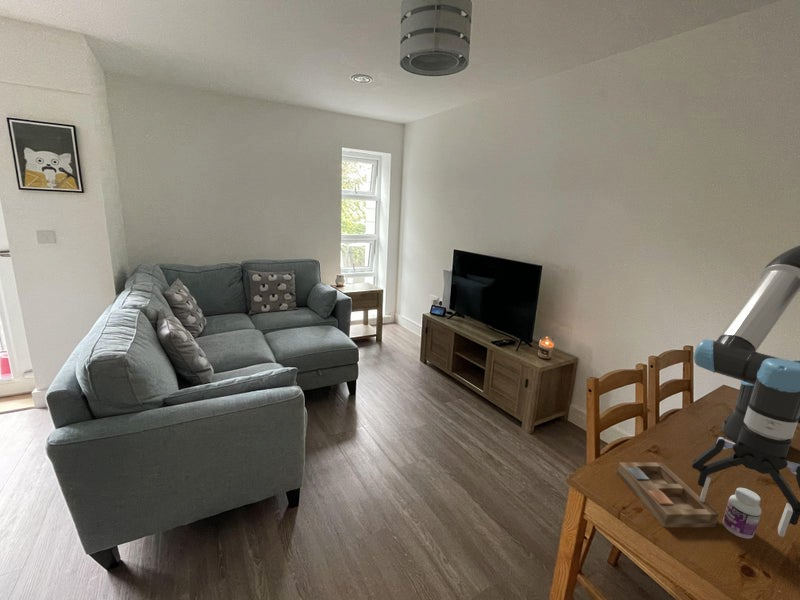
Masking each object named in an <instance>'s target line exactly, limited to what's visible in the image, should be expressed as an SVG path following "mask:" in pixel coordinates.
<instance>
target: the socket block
mask: <svg viewBox="0 0 800 600" xmlns="http://www.w3.org/2000/svg"><path fill="white" fill-rule="evenodd" d="M616 474H617V475H618V477H620V479H621V480H622V481H623V482H624V483H625V484H626V485H627V487H628V488H629V489H630V490H631V491H632V493H634V495H635V496H636V497H637V498H638V499H639V500H640V502H641V503H642V504H643V505H644V506H645V507H646V508H647V510H648V511H649V512H650V513H651V514H652V516H654V518H656V520H657V521H658V522H659V523H660V524H661V525H662V527H663V528H716V526H717V522H718V519H719V513H718V512H717V511H716V510H715V509H713V507H711V506H710V505H709V504H708V503H707V502H705V501H704V502H702V501H700V497H701V496H700V495H698V494H697V493H696V492H695V491H694V490H693V489H692V488H691V487H690V486H688V485H687V484H686V483H685V482H684V481H683V480H682V479H681V478H679V477H678V476H677V475H676V473H674V472H673V471H672V470H671V469H670V468H668V466H667V465H665V463H663V462H656V461H655V462H650V461H649V462H643V461H642V462H641V461H640V462H637V461H636V462H634V461H632V462H626V461H624V462H619V463H618V467H617V471H616Z"/></svg>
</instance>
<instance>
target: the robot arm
mask: <svg viewBox="0 0 800 600" xmlns="http://www.w3.org/2000/svg"><path fill="white" fill-rule="evenodd" d="M760 278H761V280H760V282H759V283H758V285H756V287H755V289H753V291H752V292H751V294H750V295H749V297H748V298H747V299H746V301H745V302H744V303H743V304H742V306H741V307H740V308H739V310H737V312H736V314H734V316H733V317H732V320H730V322H729V323H728V324H727V326H726V327H725V328H724V330H723V331H722V333H721V334H720V335H719V337H717V339H716V340H713V339H707V338H705V339H702V340H700V342H699V343H698V344H697V345H696V347H695V350H694V353H693V354H694V355H693V359H694V364H695V365H696V366H697V367H700V368H702V369H705V370H707V371H709V372H712V373H713V374H714V373H716V374H719V375H722V376H725V377H728V378H729V377H730V378H732V379H735V380H738V381H740V387H739V390H738V391H739V392H738V395H737V398H736V402H735V406H734V409H733V410H732V411H731V413H729V415H728V416H727V417H726V419H725V420H724V421H723V423H722V425H721V431H722V433H723V434H724V435H725V436H726V437H728V438H729V439H731V440H732V441H731V440H729V439H726V437H725V436H723V435H719V436H718V437H717V439H716V442H714V444H713V445H711V446H710V447H709V448H707V449H706V450H705V451H704V452H702V453H701V454H699V455H698V456H697V457H696V458H694V459H693V461H692V464H691V466H692V468H693V469H694V470H697V471H698V472H699V477H698V480H697V484H698V486H699V487H702V490H701V493H700V496H699V497H700V501H702V502H704V501H705V499H706V497H707V494H708V490H709V486H710V483H711V480H712V479H711V478H712V475H713V474H715V473H717V472H720V471H723V470H726V469H728V468H733V467H738V466H741V465H743V466H744V468H747V469H748V470H754V471H756V472H758V473H760V474H763V475H766V474H769V476H770V477H771V479H772V481H774V482H775V484H776V485H777V487H778V488H779V490H780V492H781V493H782V494H783V496H784V498H785V499H786V500H787V502H786V503H785V507H784V510H783V513H782V515H781V518H780V520H779V524H778V527H777V533H778V536H779V537H781V538H784V537H785V534H786V532H787V529H788V527H789V524H791V525H793V526H795V525H797V524H798V522H799V519H800V501H799V500H798V498H797V496H796V495H795V493H794V492H793V490H792V489H791V487H790V486H789V483H787V481H786V480H785V478H784V477H783V475H782V473H781V470H783V469H785V468H788V469H789V470H790V472H791V474H793V475H794V476H795V478H796V482H797V486H798V488H799V490H800V462H793V461H790V460H787V456H788V453H789V450H790V446H791V444H792V440H791V439H793V438H794V436H795V432H796V429H797V426H798V425H800V360H796V359H795V360H790V359H784V358H780V357H776V356H773V355H770V354H765V353H761V352H758V351H757V350H758V349H759V348H760V346H761V345H762V343H763V342H764V341H765V340H766V338H767V337H768V335H769V333H771V331H772V330H773V328H774V326H775V325H776V324H777V323H778V321H779V320H780V318H781V317H782V315H783V314H784V312H785V311H786V310H787V308H788V307H789V306H790V304H791V303H792V302H793V300H794V298H795V297H796V296H797V294H798V292H800V245H797V246H795V247H793V248H789V249H788V250H786V251H785V252H782V253H780V254H779V255H777V256H776V257H775V258H773V259H772V260H771V261H770V262H769V263H767V265H766V266H765V267H764V269H763V270H762V271H761V273H760ZM733 441H734V442H733ZM730 448H731V449H732V450H733V452H734V453H732V454H730V455H729V456H727V457H726V456H725V457H723V458H721V459H717V460H715V461H712V462H710V463H708V462H709V461H711V460H712V459H713V458H715V456H717V455H719V454H720V453H721V452H722V451H723V450H725V451H726V450H728V449H730Z"/></svg>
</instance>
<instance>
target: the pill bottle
mask: <svg viewBox="0 0 800 600" xmlns="http://www.w3.org/2000/svg"><path fill="white" fill-rule="evenodd" d="M761 500H762V499H761V497H760V496H759V495H758V494H757V493H756V492H755V491H754V490H753V491H752V490H750V489H748V488H745V487H737V488H736V489H735V491H734V494H732V495H730V497H728V501H727V505H726V508H725V512H724V514H723V518H722V525H723V526H724V528H726V530H728V531H729V532H730V533H731V534H733V535H735V536H737V537H738V538H742V539H752V538H754V536H755V533H756V530H757V527H758V525H759V521H760V518H761V515H762V508H761V506H760V505H761Z"/></svg>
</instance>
